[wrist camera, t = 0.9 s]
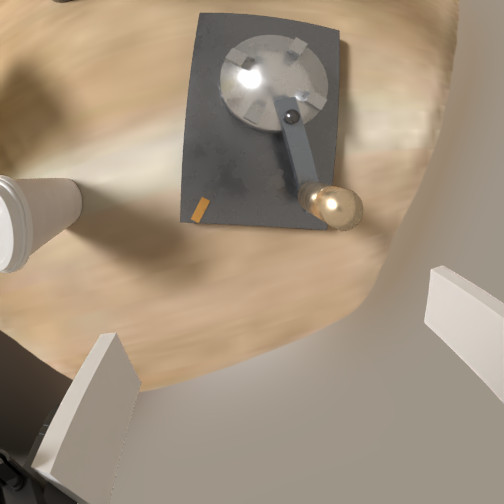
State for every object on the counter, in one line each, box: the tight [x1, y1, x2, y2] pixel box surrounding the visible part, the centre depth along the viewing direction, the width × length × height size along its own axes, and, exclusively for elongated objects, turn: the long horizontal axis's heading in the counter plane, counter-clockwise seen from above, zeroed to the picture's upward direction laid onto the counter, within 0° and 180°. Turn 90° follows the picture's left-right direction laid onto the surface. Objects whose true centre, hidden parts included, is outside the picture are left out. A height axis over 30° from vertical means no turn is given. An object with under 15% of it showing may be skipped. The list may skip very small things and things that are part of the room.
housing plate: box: [180, 13, 340, 230], centre depth 28 cm, size 26×17×2 cm, turn 176°
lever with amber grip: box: [220, 35, 363, 231], centre depth 22 cm, size 20×11×12 cm, turn 16°
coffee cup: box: [0, 175, 82, 273], centre depth 23 cm, size 10×10×15 cm
